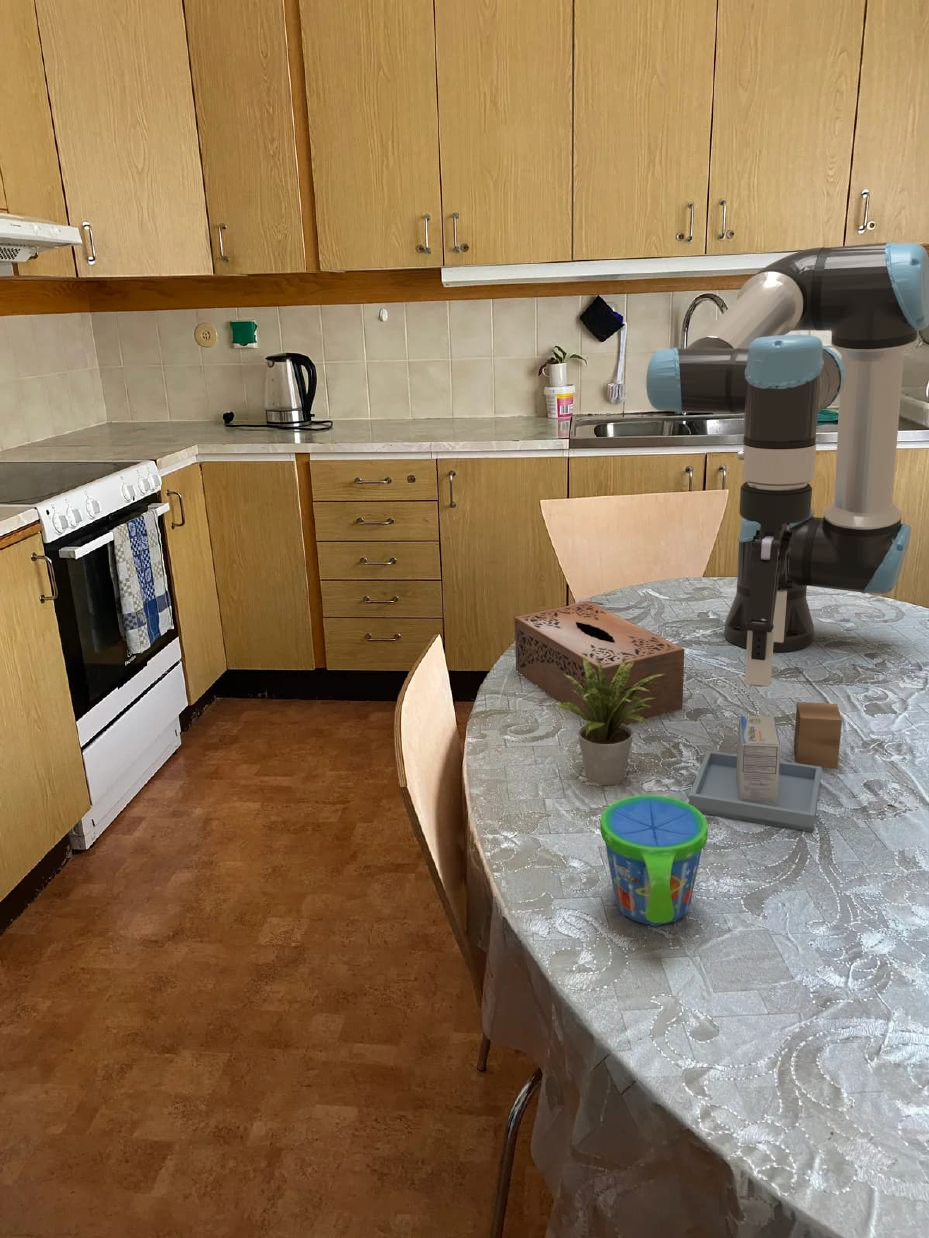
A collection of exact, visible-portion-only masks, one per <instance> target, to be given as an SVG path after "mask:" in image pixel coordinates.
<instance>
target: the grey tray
mask: <svg viewBox="0 0 929 1238" xmlns="http://www.w3.org/2000/svg"><path fill="white" fill-rule="evenodd" d="M736 770H737V754H736V753H728V752H722V751H714V750H708V749H707V750H706V752H705V754H704V757H703V759H702V762H701V765H700V766H699V770H698V772H697V775H696V777H695V780H694V783H693V784H692V787H691V790H690V792H689V795H688V804H690V805H692V806H693V807H695V808H696V809H698V810H699V811H700V812H701V813H702V814H703V815H707V816H708V815H710V816H716V817H721V818H727V819H733V820H738V821H745V822H749V823H755V824H761V825H762V824H763V825H767V826H772V827H773V826H775V827H780V828H784V829H791V830H797V831H803V832H809V833H814V826H815V820H816V812H817V809H818V808H817V806H818V801H819V794H820V786H821V782H822V781H821V779H822V777H821V776H822V771H823V769H822V767H819V766H812V765H806V764H799V763H796V762H791V761H784V760H780V762H779V780H778V797H777V807H774V806H768V805H762V804H756V803H750V802H744V801H739V792H738V783H737V774H736Z"/></svg>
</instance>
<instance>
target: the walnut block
mask: <svg viewBox="0 0 929 1238" xmlns="http://www.w3.org/2000/svg"><path fill="white" fill-rule="evenodd" d="M842 724H843V719H842V716H841V712H840V709H839V707H838V703H827V702H826V703H825V702H807V701H805V702H804V701H796V711H795V724H794V725H795V726H794V738H793V748H792V749H793V753H794V758H795V763H799V764H806V765H812V766H819V767H822V768H823V769H832V770H833V769H836V770H837V769H838V766H839V757H840V755H839V753H840V746H841V734H842Z"/></svg>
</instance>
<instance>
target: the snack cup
mask: <svg viewBox="0 0 929 1238" xmlns="http://www.w3.org/2000/svg"><path fill="white" fill-rule="evenodd" d="M599 826H600V827H599V828H600V834H601V838H602V840H603V841H604V843H605V849H606V856H607V862H608V868H609V873H610V878H611V885H612V892H613V895H614V901H615V903H616V905H617V907H618V909H619V912H620V913H621V914H622V916H623V917H628V918H629V919H631V920H633V921H636V922H638V923H642V924H646V925H650V926H652V927H659V926H662V925H666V924H671V923H674V922H676V921H679V920H681V918H682V917H685V916H686V915H687V913H689V912H688V911H689V907H690V905H691V902H692V899H693V893H694V888H695V883H696V879H697V875H698V870H699V865H700V860H701V857H702V856H701V855H702V850H703V848H705V846H706V844H707V841H708V832H709V830H708V828H709V827H708V826H709V825H708V822H707V819H706V817H705V815H704V814H703V813H701V812H700V811H699V810H698V809H696V808H695V807H693V806H692V805H690V804H689V802H686V801H684V800H681V799H677V798H674V797H670V796H665V795H655V794H649V795H648V794H646V795H645V794H644V795H632V796H629V797H624V798H622V799H619V800H617V801H614V802H612V803H611V804H610V805H608V806H607V807H606V808H605V809H604V810H603V812H602V814H601V816H600V825H599Z"/></svg>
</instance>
